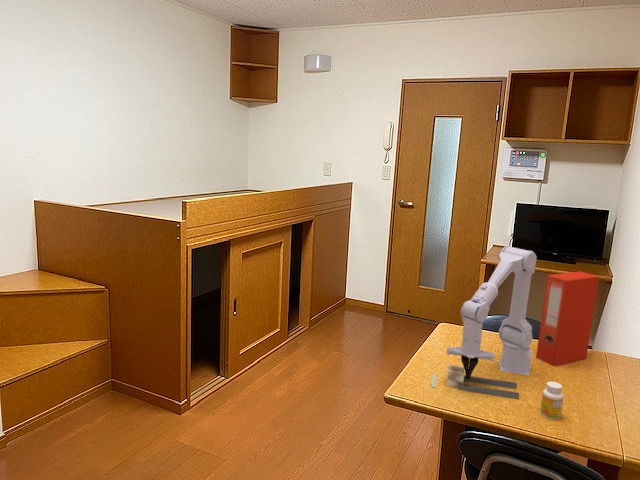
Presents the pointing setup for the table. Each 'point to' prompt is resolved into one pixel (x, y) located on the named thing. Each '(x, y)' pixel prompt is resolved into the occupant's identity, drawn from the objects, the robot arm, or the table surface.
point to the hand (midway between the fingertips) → (467, 377)
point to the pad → (433, 381)
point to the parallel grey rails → (489, 390)
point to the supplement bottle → (552, 401)
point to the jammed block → (455, 375)
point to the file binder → (567, 317)
